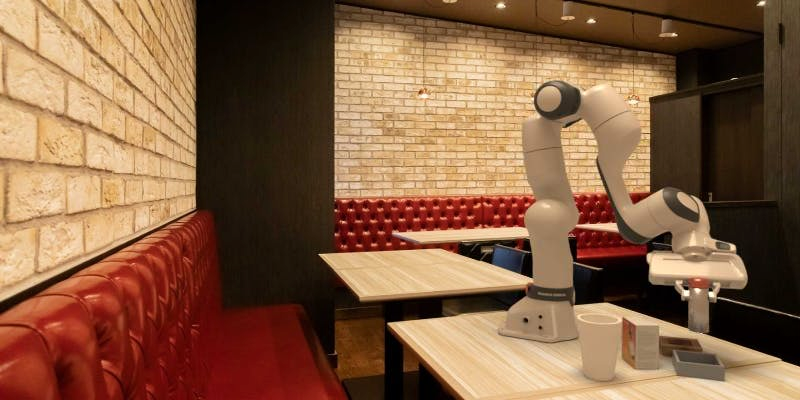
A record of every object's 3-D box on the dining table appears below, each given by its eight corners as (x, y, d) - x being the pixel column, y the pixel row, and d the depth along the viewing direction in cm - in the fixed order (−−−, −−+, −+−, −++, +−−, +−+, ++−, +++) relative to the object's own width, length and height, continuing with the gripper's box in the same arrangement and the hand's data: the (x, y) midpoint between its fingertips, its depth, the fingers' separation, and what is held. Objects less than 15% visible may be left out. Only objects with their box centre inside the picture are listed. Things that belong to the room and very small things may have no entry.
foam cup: (597, 386, 111) (598, 326, 111) (567, 372, 120) (568, 316, 119) (630, 379, 115) (631, 321, 115) (599, 366, 124) (599, 311, 123)
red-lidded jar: (689, 332, 118) (689, 279, 118) (687, 327, 122) (687, 276, 122) (710, 333, 117) (710, 280, 116) (707, 329, 121) (707, 277, 120)
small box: (621, 358, 129) (621, 316, 129) (644, 358, 129) (644, 316, 129) (634, 369, 121) (635, 324, 121) (659, 369, 121) (659, 324, 121)
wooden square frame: (661, 355, 131) (661, 345, 131) (658, 344, 139) (658, 335, 139) (702, 359, 128) (702, 349, 128) (697, 348, 136) (697, 339, 136)
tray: (677, 375, 117) (677, 361, 117) (672, 362, 126) (672, 349, 126) (724, 381, 114) (724, 367, 114) (716, 367, 122) (716, 354, 122)
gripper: (646, 242, 129) (649, 289, 120) (743, 245, 121) (753, 295, 113) (645, 258, 133) (648, 304, 125) (738, 261, 126) (748, 310, 117)
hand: (699, 300), depth 119 cm, fingers closed on red-lidded jar, 4 cm apart
